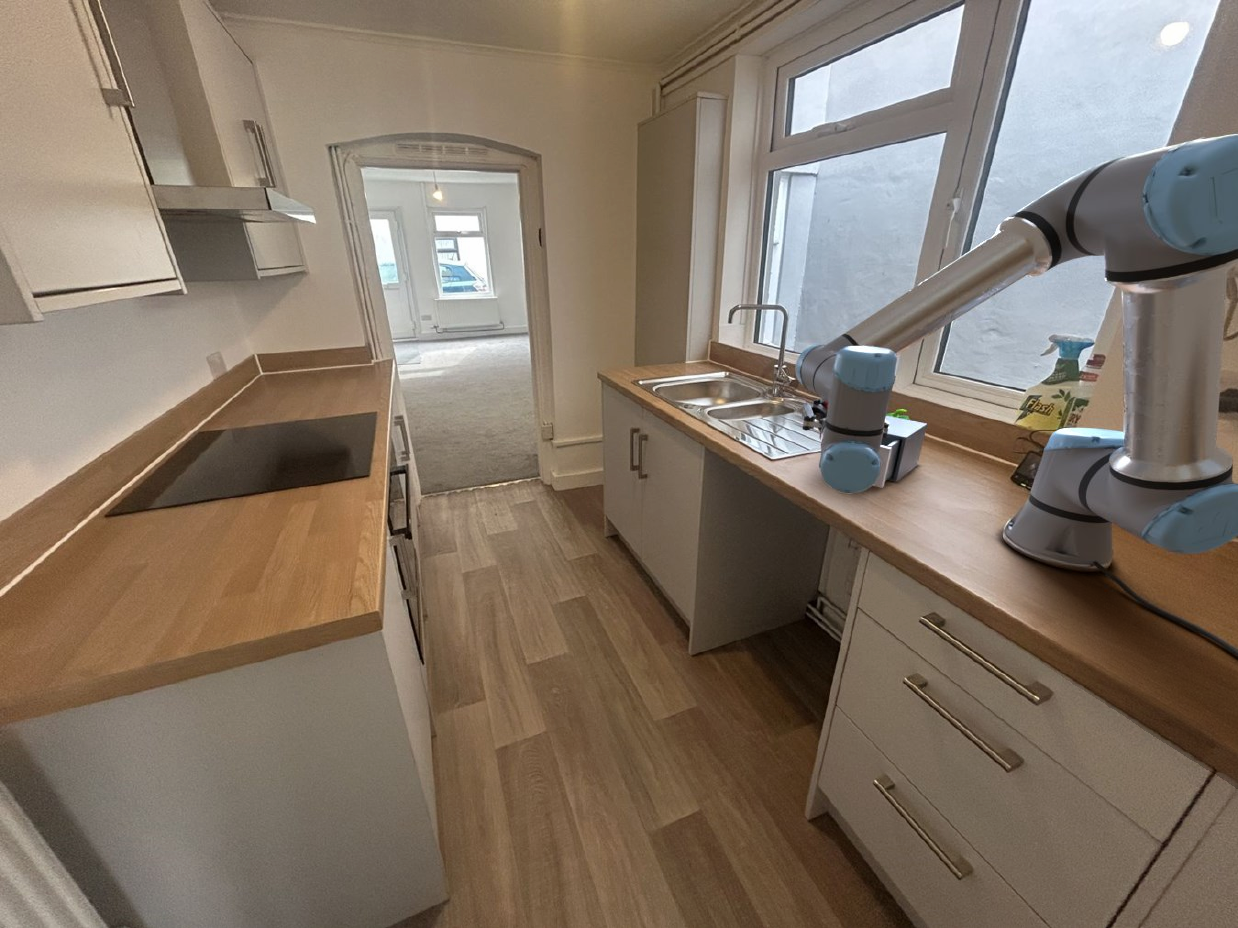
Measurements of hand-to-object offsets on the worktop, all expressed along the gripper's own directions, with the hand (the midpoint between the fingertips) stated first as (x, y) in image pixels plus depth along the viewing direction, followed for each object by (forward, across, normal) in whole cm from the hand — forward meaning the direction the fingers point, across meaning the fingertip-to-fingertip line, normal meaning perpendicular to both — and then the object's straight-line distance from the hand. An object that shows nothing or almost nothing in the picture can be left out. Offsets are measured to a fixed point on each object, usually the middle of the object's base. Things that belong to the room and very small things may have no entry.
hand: (841, 402), depth 98 cm
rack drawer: (+20, +9, -23) cm, 31 cm away
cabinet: (+29, +14, -24) cm, 40 cm away
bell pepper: (+53, +18, -24) cm, 61 cm away
